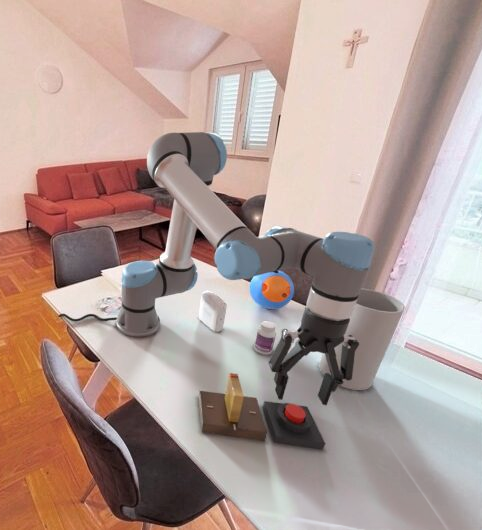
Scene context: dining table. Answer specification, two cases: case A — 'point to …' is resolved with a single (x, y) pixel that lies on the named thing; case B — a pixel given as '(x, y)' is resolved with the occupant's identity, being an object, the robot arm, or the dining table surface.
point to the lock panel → (218, 421)
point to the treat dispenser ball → (272, 289)
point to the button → (295, 413)
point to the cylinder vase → (368, 336)
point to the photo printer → (212, 310)
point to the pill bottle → (265, 338)
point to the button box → (292, 427)
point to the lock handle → (233, 397)
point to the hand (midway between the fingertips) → (300, 397)
